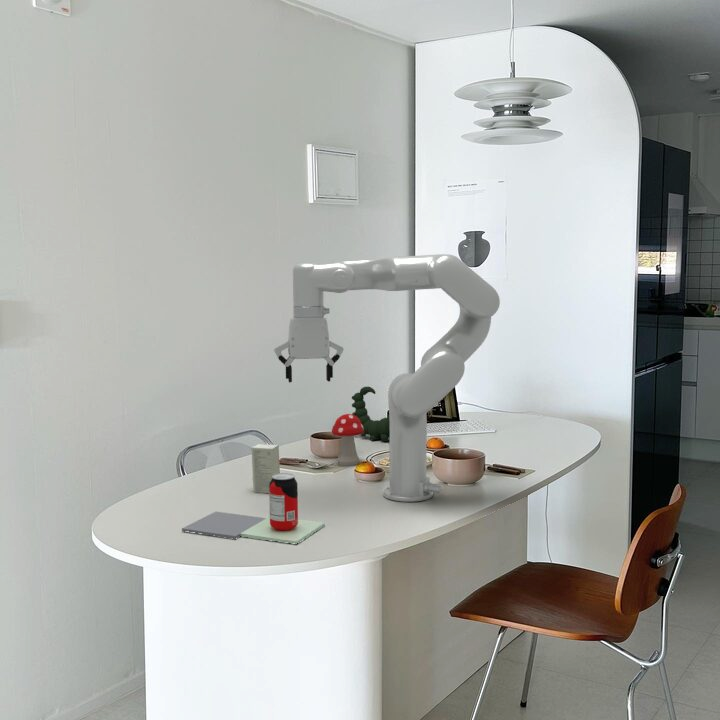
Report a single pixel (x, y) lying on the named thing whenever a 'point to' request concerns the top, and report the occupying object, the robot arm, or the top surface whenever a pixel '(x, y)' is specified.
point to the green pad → (291, 536)
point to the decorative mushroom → (347, 438)
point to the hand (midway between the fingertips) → (309, 381)
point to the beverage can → (283, 502)
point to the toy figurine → (370, 427)
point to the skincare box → (264, 466)
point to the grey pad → (223, 524)
